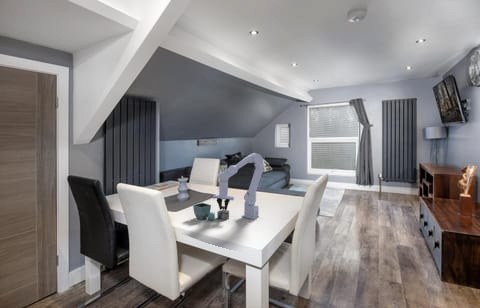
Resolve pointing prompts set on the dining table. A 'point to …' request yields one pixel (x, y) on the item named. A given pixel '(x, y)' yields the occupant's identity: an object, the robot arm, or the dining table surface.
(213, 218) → the teal rounded part
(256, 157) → the robot arm
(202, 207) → the flower pot
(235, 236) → the dining table surface
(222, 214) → the press pot
